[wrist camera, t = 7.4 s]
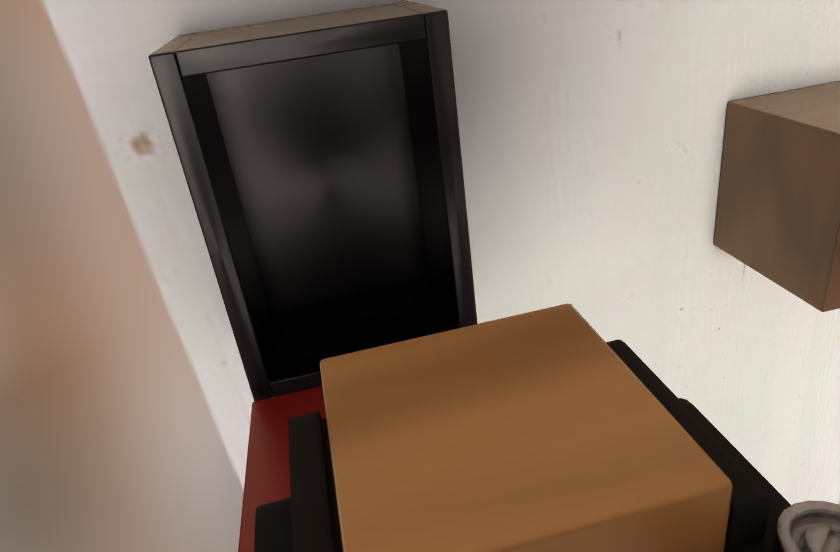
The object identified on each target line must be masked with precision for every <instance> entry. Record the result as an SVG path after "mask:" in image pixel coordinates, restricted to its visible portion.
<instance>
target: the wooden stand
mask: <svg viewBox="0 0 840 552" xmlns="http://www.w3.org/2000/svg"><path fill="white" fill-rule="evenodd" d="M714 245H715V246H717V247H719V248H720V249H722V250H723V251H725V252H727V253H728V254H730V255H731V256H733V257H735V258H736V259H738V260H739V261H741V262H743V263H744V264H746V265H747V266H749V267H751V268H752V269H754V270H756V271H757V272H759V273H760V274H762V275H764V276H765V277H767V278H768V279H770V280H772V281H773V282H775V283H776V284H778V285H780V286H781V287H783V288H784V289H786V290H788V291H789V292H791V293H792V294H794V295H796V296H797V297H799V298H800V299H802V300H804V301H805V302H807V303H809V304H810V305H812V306H813V307H815V308H817V309H818V310H820V311H821V312H825V311H829V310H834V309H838V308H840V81H839V82H834V83H828V84H823V85H817V86H812V87H806V88H801V89H796V90H790V91H785V92H779V93H774V94H768V95H763V96H757V97H752V98H746V99H741V100H735V101H730V102H728V107H727V117H726V127H725V137H724V147H723V157H722V167H721V177H720V187H719V197H718V207H717V217H716V227H715V237H714Z"/></svg>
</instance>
